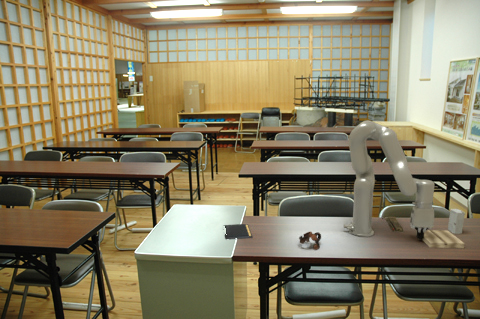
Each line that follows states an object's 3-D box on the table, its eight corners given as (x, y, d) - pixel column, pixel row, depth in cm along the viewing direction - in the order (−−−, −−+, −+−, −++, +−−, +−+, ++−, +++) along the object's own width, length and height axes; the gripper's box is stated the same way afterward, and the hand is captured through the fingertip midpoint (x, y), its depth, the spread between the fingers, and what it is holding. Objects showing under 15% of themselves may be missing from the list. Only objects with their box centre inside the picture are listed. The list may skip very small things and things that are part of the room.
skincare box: (447, 229, 193) (449, 208, 191) (455, 229, 193) (457, 208, 191) (454, 234, 187) (456, 212, 185) (462, 234, 187) (465, 212, 185)
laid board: (445, 247, 172) (445, 242, 171) (429, 234, 187) (430, 230, 187) (464, 248, 171) (464, 243, 170) (447, 234, 187) (447, 230, 186)
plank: (430, 247, 172) (430, 243, 172) (416, 234, 188) (416, 230, 187) (447, 247, 171) (447, 243, 171) (431, 234, 187) (432, 230, 187)
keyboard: (406, 233, 191) (406, 230, 190) (388, 232, 192) (388, 229, 192) (396, 219, 212) (396, 215, 211) (380, 218, 213) (380, 215, 213)
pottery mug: (312, 253, 169) (304, 238, 169) (301, 254, 177) (293, 240, 178) (328, 241, 175) (320, 226, 176) (317, 242, 183) (309, 228, 184)
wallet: (222, 223, 204) (249, 222, 205) (223, 226, 205) (249, 225, 206) (224, 237, 185) (252, 236, 186) (224, 240, 185) (252, 239, 186)
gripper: (411, 206, 173) (407, 241, 177) (442, 207, 172) (438, 242, 175) (405, 201, 180) (401, 235, 184) (435, 202, 179) (431, 236, 183)
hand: (419, 238), depth 180 cm, fingers closed
